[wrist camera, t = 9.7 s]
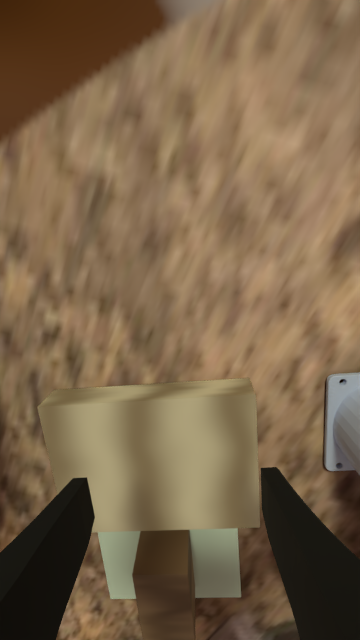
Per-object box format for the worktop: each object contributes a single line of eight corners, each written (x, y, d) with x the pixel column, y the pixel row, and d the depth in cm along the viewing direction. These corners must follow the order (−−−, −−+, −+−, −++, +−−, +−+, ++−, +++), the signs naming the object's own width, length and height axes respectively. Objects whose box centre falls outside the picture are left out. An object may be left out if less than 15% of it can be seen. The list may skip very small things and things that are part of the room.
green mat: (235, 505, 25) (236, 510, 24) (240, 591, 27) (241, 597, 26) (96, 509, 25) (94, 515, 25) (112, 592, 28) (110, 598, 27)
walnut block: (187, 574, 21) (195, 643, 22) (188, 522, 25) (195, 585, 26) (132, 574, 21) (143, 644, 23) (141, 524, 25) (151, 586, 27)
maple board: (249, 377, 22) (255, 394, 19) (253, 499, 24) (260, 527, 22) (54, 390, 23) (37, 407, 20) (78, 505, 25) (66, 533, 23)
